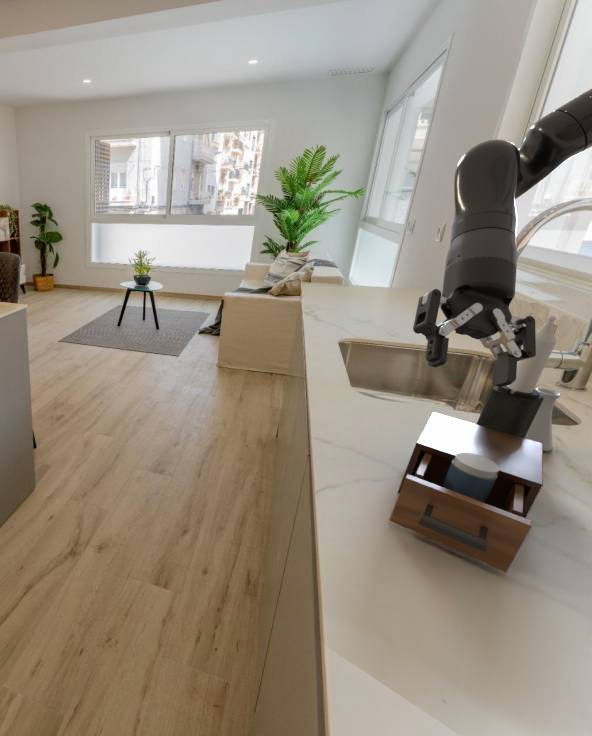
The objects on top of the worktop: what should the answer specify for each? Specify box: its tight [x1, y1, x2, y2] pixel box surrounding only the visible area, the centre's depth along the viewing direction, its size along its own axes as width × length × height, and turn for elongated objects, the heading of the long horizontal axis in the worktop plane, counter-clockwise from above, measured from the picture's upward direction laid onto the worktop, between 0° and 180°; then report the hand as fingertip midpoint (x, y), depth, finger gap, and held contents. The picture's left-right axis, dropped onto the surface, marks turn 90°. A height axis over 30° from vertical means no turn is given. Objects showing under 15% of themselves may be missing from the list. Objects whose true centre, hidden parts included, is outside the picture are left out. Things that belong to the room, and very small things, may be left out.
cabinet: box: [397, 411, 544, 519], centre depth 61 cm, size 14×13×9 cm
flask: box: [525, 387, 562, 452], centre depth 75 cm, size 7×7×10 cm
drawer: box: [389, 452, 533, 573], centre depth 53 cm, size 17×11×7 cm
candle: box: [476, 315, 557, 438], centre depth 66 cm, size 5×5×25 cm
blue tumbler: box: [441, 452, 500, 503], centre depth 54 cm, size 4×4×8 cm
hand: (469, 375), depth 56 cm, fingers open, 8 cm apart
